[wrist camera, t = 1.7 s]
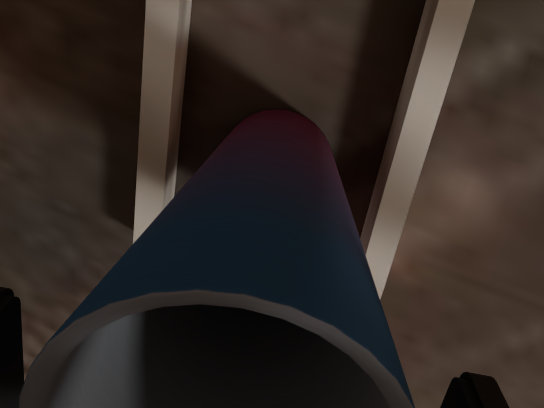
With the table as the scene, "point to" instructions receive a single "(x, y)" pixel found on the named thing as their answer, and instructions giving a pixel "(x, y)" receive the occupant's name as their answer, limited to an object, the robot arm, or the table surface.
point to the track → (399, 148)
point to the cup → (235, 294)
